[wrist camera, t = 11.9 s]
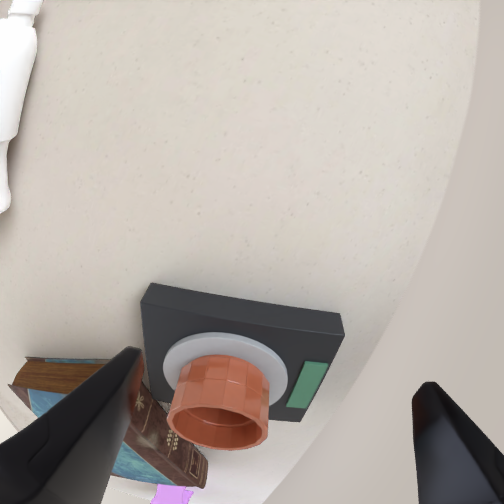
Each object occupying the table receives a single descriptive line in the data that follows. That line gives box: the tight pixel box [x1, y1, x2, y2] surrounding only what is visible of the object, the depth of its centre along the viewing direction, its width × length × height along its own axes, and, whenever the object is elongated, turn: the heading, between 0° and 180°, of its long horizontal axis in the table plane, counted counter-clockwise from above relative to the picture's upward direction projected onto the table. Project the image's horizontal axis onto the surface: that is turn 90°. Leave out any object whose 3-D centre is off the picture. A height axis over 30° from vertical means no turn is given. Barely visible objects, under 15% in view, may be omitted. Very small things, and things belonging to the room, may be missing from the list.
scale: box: [140, 283, 345, 422], centre depth 24 cm, size 14×12×3 cm
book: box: [8, 357, 208, 489], centre depth 31 cm, size 23×18×5 cm
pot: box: [167, 354, 270, 451], centre depth 20 cm, size 7×7×4 cm
